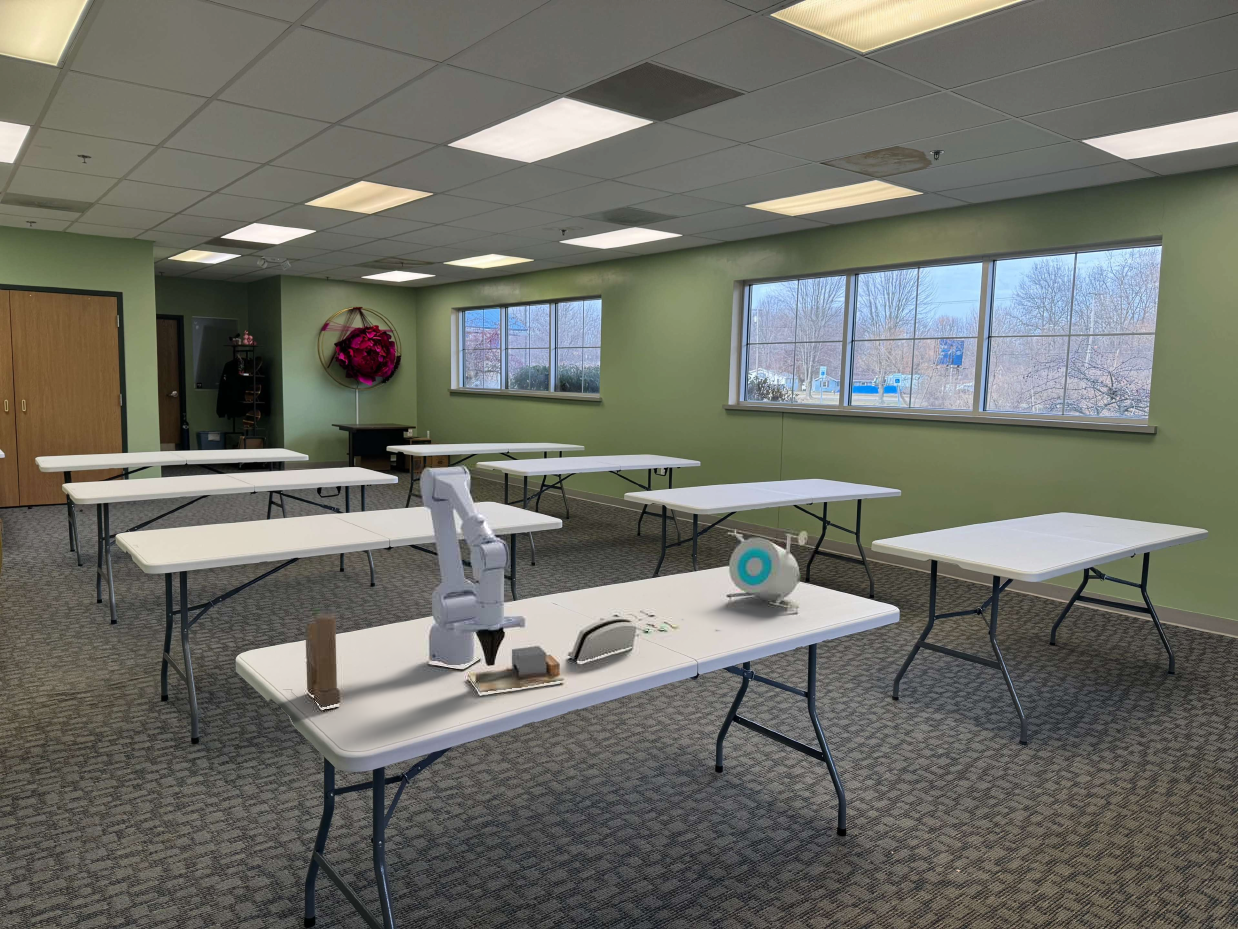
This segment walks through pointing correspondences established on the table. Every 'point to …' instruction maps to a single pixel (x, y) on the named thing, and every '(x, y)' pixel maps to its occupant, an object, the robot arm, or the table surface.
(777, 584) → the satellite
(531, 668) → the clip
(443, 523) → the robot arm
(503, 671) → the rail
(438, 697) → the table surface
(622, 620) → the grey rounded block
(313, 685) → the wooden block
